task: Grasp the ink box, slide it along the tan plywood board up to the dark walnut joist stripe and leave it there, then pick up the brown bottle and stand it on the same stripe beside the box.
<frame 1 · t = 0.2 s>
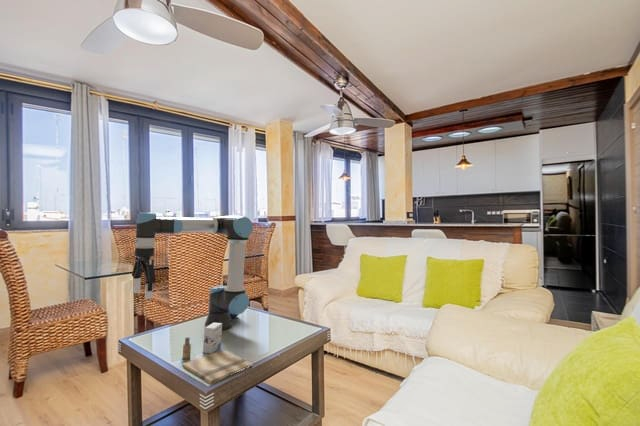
hand: (142, 295, 141), 28 cm above the table, fingers open, 13 cm apart
ink box: (212, 350, 154), on the table
brown bottle: (186, 358, 144), on the table
book: (228, 319, 201), on the table
board: (217, 366, 137), on the table
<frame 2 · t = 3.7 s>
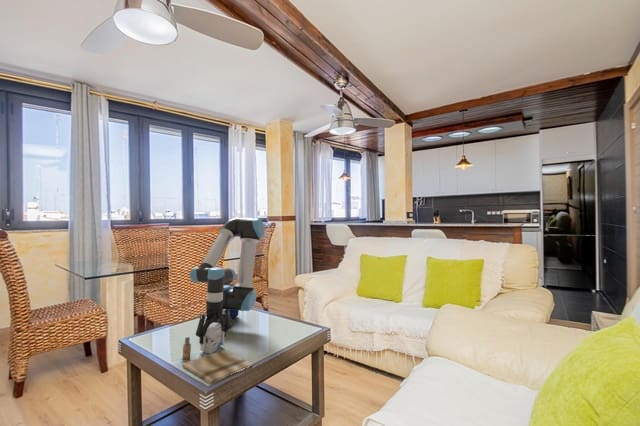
hand: (212, 347, 154), 1 cm above the table, fingers closed on ink box, 9 cm apart
ink box: (212, 350, 154), on the table, touching gripper
everything else where it was.
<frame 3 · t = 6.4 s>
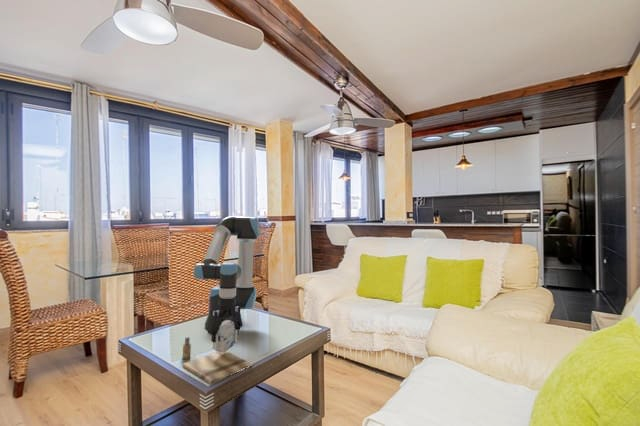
hand: (224, 346, 147), 5 cm above the table, fingers closed on ink box, 9 cm apart
ink box: (224, 349, 147), point 3 cm above the table, touching gripper
everything else where it was.
when the fingers open (3 cm above the table, at t = 9.1 s): ink box stays where it is, resting on board.
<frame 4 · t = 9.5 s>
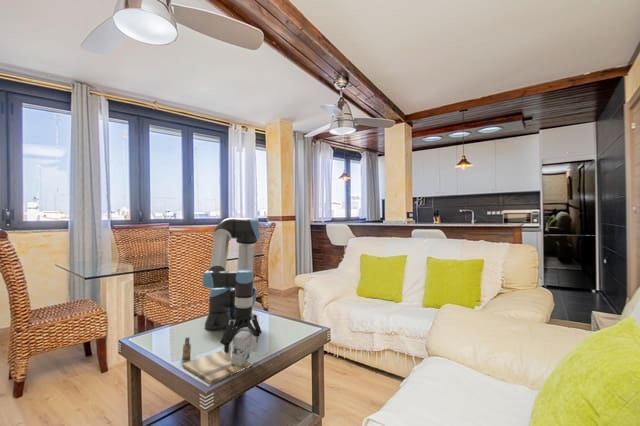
hand: (241, 355, 140), 4 cm above the table, fingers open, 13 cm apart
ink box: (240, 361, 140), point 1 cm above the table, touching board
everything else where it was.
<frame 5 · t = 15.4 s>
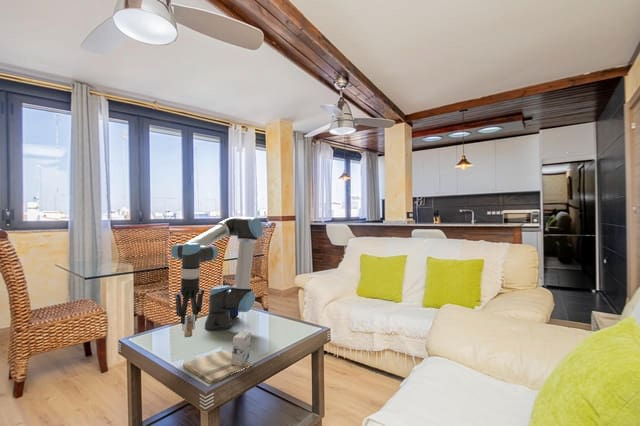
hand: (188, 329, 144), 13 cm above the table, fingers closed on brown bottle, 3 cm apart
brown bottle: (188, 336, 144), point 10 cm above the table, touching gripper
everything else where it was.
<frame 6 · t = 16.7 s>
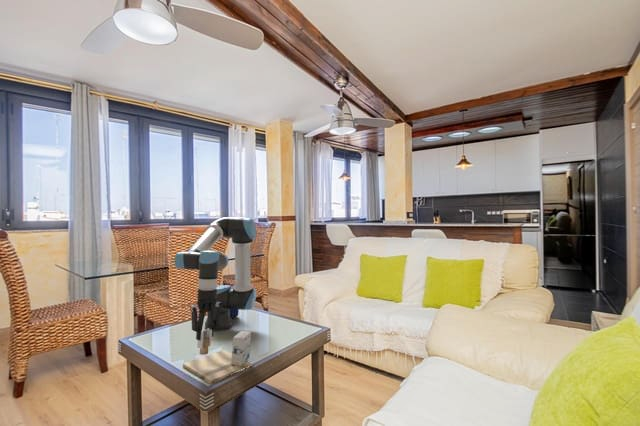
hand: (204, 346, 131), 11 cm above the table, fingers closed on brown bottle, 3 cm apart
brown bottle: (203, 353, 131), point 8 cm above the table, touching gripper
everything else where it was.
when the fingers open (2 cm above the table, at t = 18.6 s): brown bottle stays where it is, resting on board.
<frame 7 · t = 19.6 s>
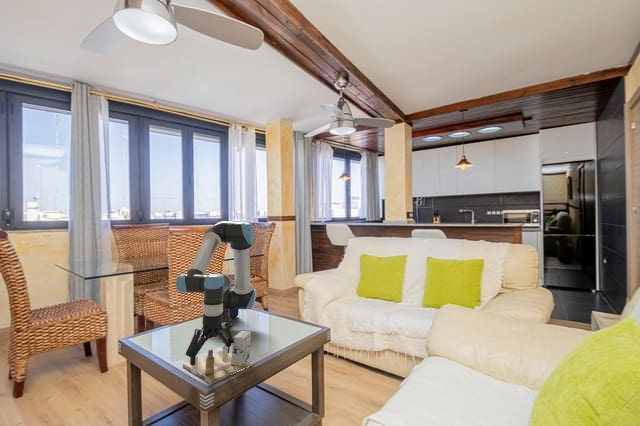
hand: (210, 367, 128), 4 cm above the table, fingers open, 13 cm apart
brown bottle: (209, 373, 128), point 1 cm above the table, touching board
everything else where it was.
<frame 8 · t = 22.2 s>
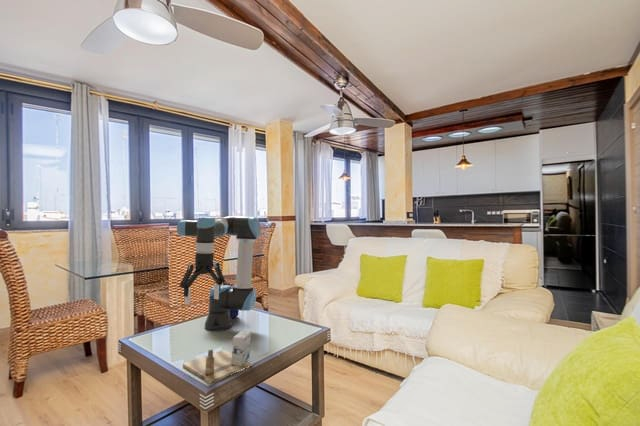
hand: (202, 301, 139), 27 cm above the table, fingers open, 13 cm apart
nothing on the table moved.
at the end: ink box inside the target area (0.1 cm from its centre), point 1.0 cm above the table; brown bottle inside the target area (0.6 cm from its centre), point 1.2 cm above the table; brown bottle tilted 0° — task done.
